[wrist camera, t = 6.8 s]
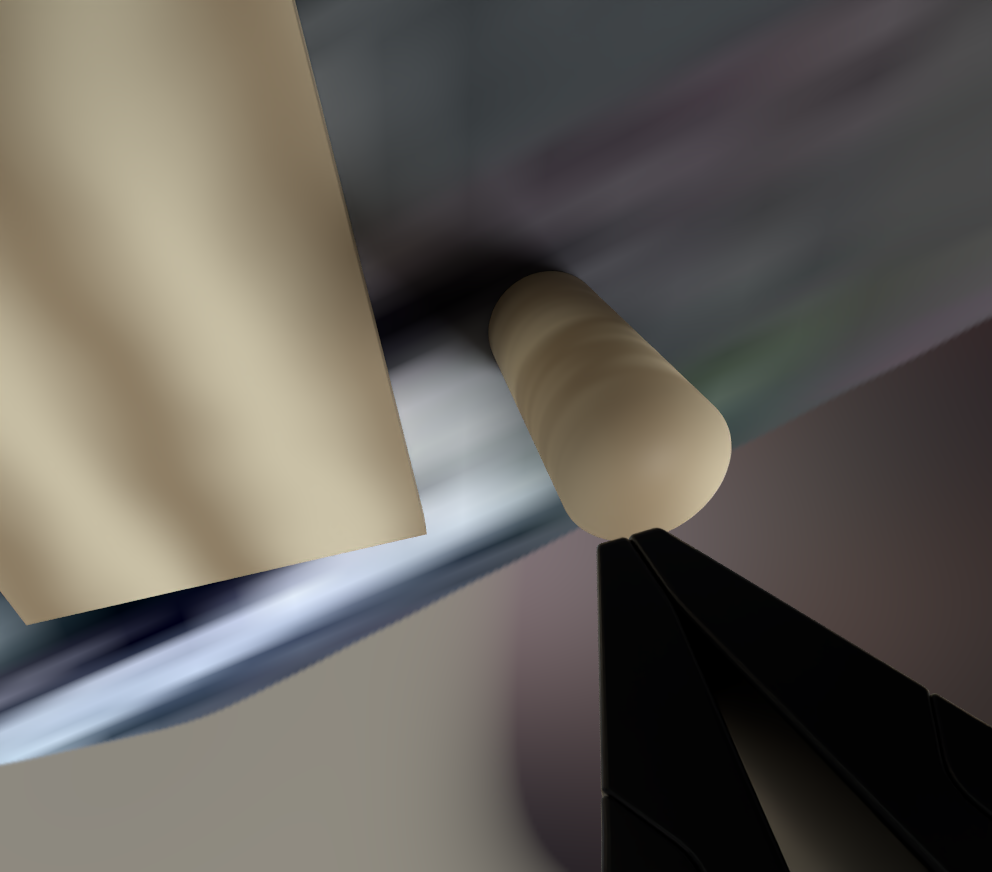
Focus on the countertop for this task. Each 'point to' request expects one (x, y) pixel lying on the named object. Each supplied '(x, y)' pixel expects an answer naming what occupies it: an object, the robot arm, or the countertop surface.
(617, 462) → the dowel
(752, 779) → the robot arm
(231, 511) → the wall board
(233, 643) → the countertop surface
